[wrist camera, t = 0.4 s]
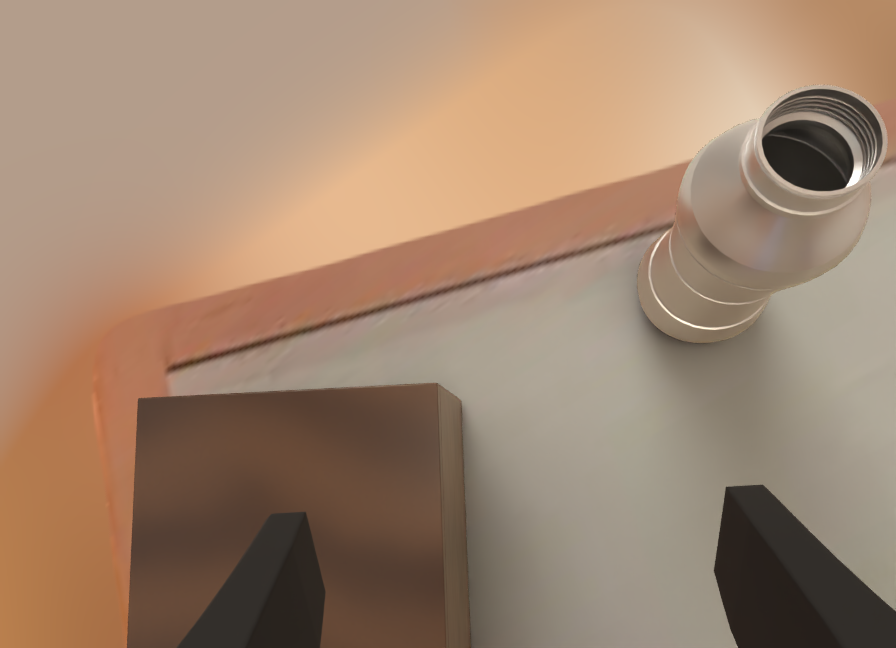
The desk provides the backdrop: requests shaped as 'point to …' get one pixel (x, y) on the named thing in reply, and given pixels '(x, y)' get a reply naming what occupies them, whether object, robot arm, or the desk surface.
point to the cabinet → (306, 507)
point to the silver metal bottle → (764, 213)
